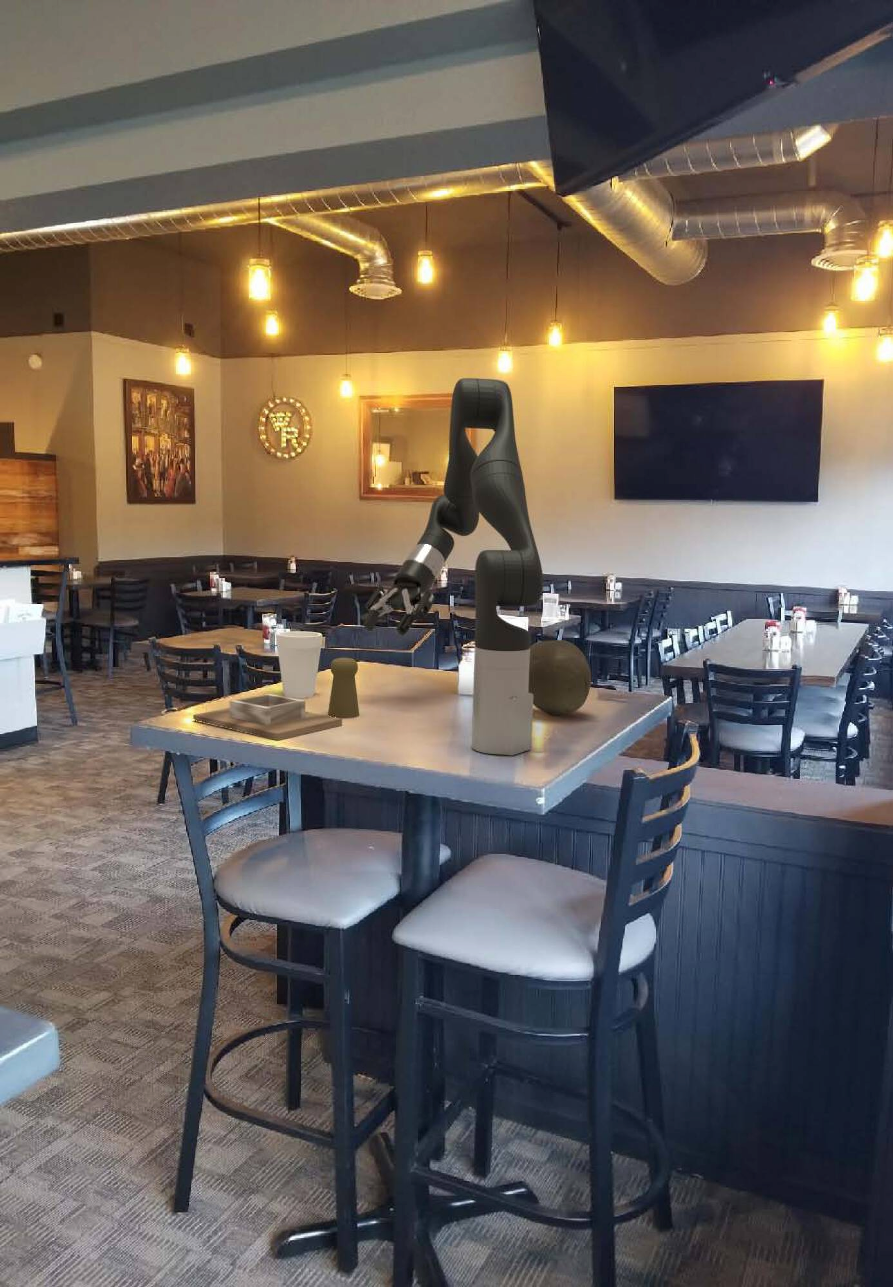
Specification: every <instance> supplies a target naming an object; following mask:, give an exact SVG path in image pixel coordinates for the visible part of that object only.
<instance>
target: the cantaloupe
mask: <svg viewBox="0 0 893 1287" xmlns="http://www.w3.org/2000/svg"><path fill="white" fill-rule="evenodd" d="M591 685H592V671H591V669H590V665H589V663H588V661H587V659H586V656H585V655H584V653H583V651H582V650H581V649H579V647H578V646H576V645H575V644H574V643H572V642H570V641H567V640H565V639H561V640H560V639H559V640H541V641H537V642H535V643H534V644H531V645H530V667H529V692H528V693H532V694H533V707H536V708H537V709H538V710H540V711H541V712H543V713H546V714H548V715H552V716H559V717H563V716H568V715H569V714H573V713H574V712H576V711H578V710H579V709H580V708H582V706H583V705H584V704H585V703H586V701H587V699H588V697H589V695H590V694H589V693H590V690H591Z"/></svg>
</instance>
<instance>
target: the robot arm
mask: <svg viewBox="0 0 893 1287" xmlns="http://www.w3.org/2000/svg"><path fill="white" fill-rule="evenodd" d="M509 386H510V385H509V384H508V383H507V382H506V381H504V380H499V379H494V378H492V379H491V378H475V377H466V378H465V377H463V378H460V379H458V381H457V382H456V383H455V385H454V388H453V391H452V397H451V403H450V404H451V405H450V419H449V420H450V421H449V438H448V440H449V441H448V446H449V447H448V461H447V462H448V463H447V468H446V472H445V477H444V483H443V490H442V491H443V494H440V495H438V496H437V497H436V498H435V499H434V500H433V502H432V504H431V505H432V506H431V508H430V513H429V518H428V522H427V525H426V528H425V530H424V531H423V533H422V535H421V537H420V539H419V540H418V541H417V543H416V545H415V546H414V548H413V549H412V550H411V551H410V552H409V554H408V555H407V556H406V559H405V560H404V561H403V563H402V565H400V568H399V570H398V571H397V572H396V573H395V576H394V580H393V585H392V586H391V587H390V588H389V589H386V588H384V587H383V586H382V585H379V586H378V587H377V588H376V590H375V591H374V592H373V594H372V595H371V596H370V598H369V599H368V601H367V602H366V603H365V609H367V611H368V612H369V613H368V614H367V616H366V618H365V620H364V621H363V626H364V628H365V630H367V631H370V632H371V631H373V629H374V628H375V626H376V624H377V623H378V621H379V620H380V618H381V617H382V616H383V615H385V614H390V613H392V612H393V611H401V612H406V614H404V615H403V616H402V618H401V620H400V621H399V623H398V624H397V626H396V631H397V632H398V634H399V635H400V636H404V635H405V634H407V632H408V631H409V630H410V628H411V626H412V625H413V623H415V622H416V621H418V620H420V621H424V620H426V618H427V616H428V614H429V612H430V610H431V608H432V607H433V604H434V602H435V601H436V598H435V596H434V594H433V593H432V591H431V588H432V587H433V585H434V583H435V582H436V580H437V579H438V577H439V576H440V573H441V571H442V569H443V566H444V565H445V563H446V561H447V559H448V558H449V557H450V555H451V553H452V552H453V549H454V547H455V539H454V538H453V536H452V535H451V533H453V534H455V535H458V536H460V537H467V536H471V534H473V533H474V532H475V530H476V529H477V527H478V524H479V521H480V520H479V519H480V516H482V517H483V519H484V520H485V521H486V522H487V523H488V524H489V525H490V526H491V527H492V528H493V529H494V530H495V531H496V532H497V533H498V534H499V535H500V536H501V537H502V539H504V540H505V542H506V543H507V545H508V547H509V550H508V549H484V550H481V551H480V553H479V554H478V556H477V558H476V561H475V565H474V567H475V568H474V593H475V594H474V595H475V596H474V597H475V598H474V599H475V600H474V602H475V603H474V604H475V610H474V611H475V618H474V619H475V622H474V628H475V629H474V630H475V631H474V633H475V634H474V655H473V656H474V662H473V688H472V690H473V692H472V721H471V728H472V729H471V748H472V749H473V750H474V751H476V752H480V753H483V754H489V755H490V754H491V755H507V756H515V755H518V754H521V753H523V752H526V751H529V750H532V741H533V740H532V738H533V715H534V705H533V694H532V693H528V692H529V667H530V646H531V645H532V644H531V642H532V638H531V633H530V632H529V630H527V629H525V628H523V627H520V626H517V625H515V624H512V623H510V622H508V621H506V620H504V619H503V618H502V617H500V616H499V614H498V611H497V607H530V606H531V607H532V606H535V605H536V604H537V603H538V602H540V600H541V598H542V596H543V590H544V575H543V567H542V563H541V558H540V554H539V551H538V547H537V544H536V541H535V537H534V533H533V530H532V525H531V522H530V516H529V510H528V504H527V495H526V488H525V487H526V486H525V482H524V477H523V471H522V470H523V469H522V466H521V462H520V457H519V452H518V447H517V441H516V440H517V439H516V431H515V430H516V429H515V420H514V419H515V417H514V408H513V407H514V405H513V398H512V397H513V396H512V392H511V388H510V387H509ZM466 429H482V430H492V431H493V432H494V434H493V435H492V438H491V439H490V440H489V442H488V443H487V444H486V445H485V447H484V448H483V449H482V450H481V451H480V452H479V454H477V453H476V451H475V449H474V447H473V445H472V444H471V443H470V440H469V438H468V434H467V431H466ZM448 531H449V532H448ZM450 532H451V533H450ZM386 602H388V604H389V606H388V605H387V604H386ZM381 607H382V608H381ZM380 608H381V609H380Z"/></svg>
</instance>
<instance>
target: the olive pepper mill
mask: <svg viewBox="0 0 893 1287" xmlns="http://www.w3.org/2000/svg"><path fill="white" fill-rule="evenodd" d="M358 670H359V666H358V662H357V661H356V660H355V659H354V658H350V657H338V658H337V657H336V658H335V659H333V660H332V661H331V663H330V672H331V674H332V675H333V676H332V684H331V690H330V696H329V697H330V698H329V703H328V711H327V716H328V715H329V716H331V717H336V718H340V719H353V718H357V717H359V716H360V708H359V701H358V693H357V692H358V691H357V684H356V683H357V682H356V675H357V673H358Z"/></svg>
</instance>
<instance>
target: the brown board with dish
mask: <svg viewBox="0 0 893 1287" xmlns="http://www.w3.org/2000/svg"><path fill="white" fill-rule="evenodd" d="M192 716H193V718H192V719H195V720H197V721H202V722H205V723H210V724H214V725H217V726H223V727H227V728H232V729H234V730H239V731H242V732H247V733H252V734H255V735H259V736H258V737H260V736H261V737H260V738H264V737H266V738H265V739H268V738H269V739H270V740H273V739H274V740H273V741H282V739H283V740H286V739H291V738H295V737H298V736H297V735H300V736H303V734H304V735H306V734H305V733H308V734H312V733H317V732H320V731H319V730H321V731H324V729H325V730H328V729H327V728H329V729H332V728H333V729H334V728H337V727H341V726H343V718H335V717H330V716H328V715H324V714H319V713H314V712H309V711H306V700H304V699H300V698H290V697H285V696H284V695H277V694H274V693H266V694H260V695H255V696H249V697H244V698H238V699H231V700H229V707H228V708H227V707H226V708H222V709H217V710H216V709H215V710H212V711H206V712H201V713H195V714H193V715H192ZM336 726H337V727H336ZM234 730H233V731H234ZM242 732H241V733H242ZM311 732H312V733H311ZM247 733H246V734H247ZM255 735H254V736H255ZM290 737H291V738H290Z"/></svg>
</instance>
